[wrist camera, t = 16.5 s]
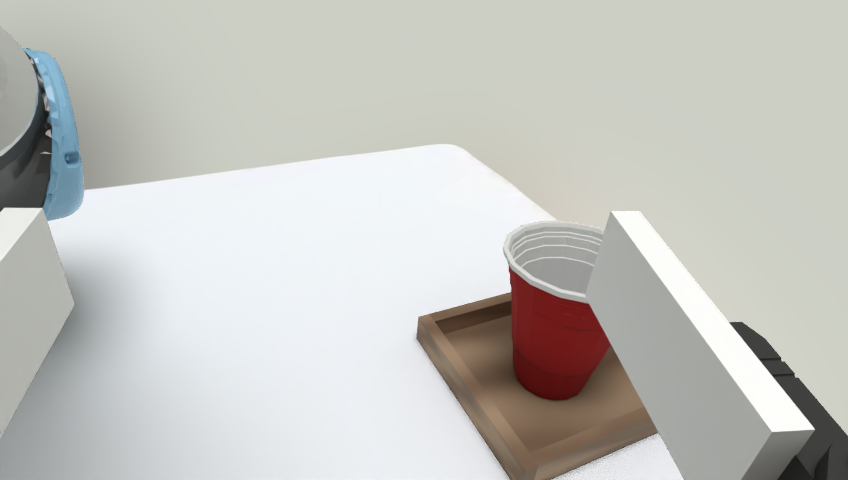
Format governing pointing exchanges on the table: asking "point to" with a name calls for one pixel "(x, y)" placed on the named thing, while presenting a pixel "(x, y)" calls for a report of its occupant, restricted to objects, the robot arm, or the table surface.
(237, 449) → the table surface
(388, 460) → the table surface
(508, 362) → the cup tray
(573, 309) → the plastic cup
